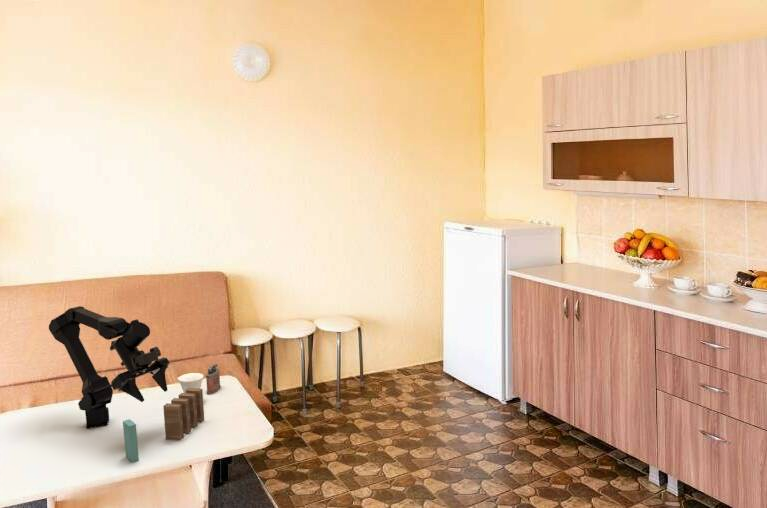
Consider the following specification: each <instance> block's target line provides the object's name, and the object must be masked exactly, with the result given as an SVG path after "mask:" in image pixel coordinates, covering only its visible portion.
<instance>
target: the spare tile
mask: <svg viewBox="0 0 767 508" xmlns="http://www.w3.org/2000/svg"><path fill="white" fill-rule="evenodd" d="M122 428H123V430H122V431H123V440H124V453H125V457H126V458H127V460H129V462H130V463H135V462H138V461H140V460H139V459H140V458H139V448H138V447H139V446H138V434H137V433H138V432H137V423H135V422H134V421H133V420H131V419H130V418H128V419H125V420H122Z"/></svg>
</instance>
